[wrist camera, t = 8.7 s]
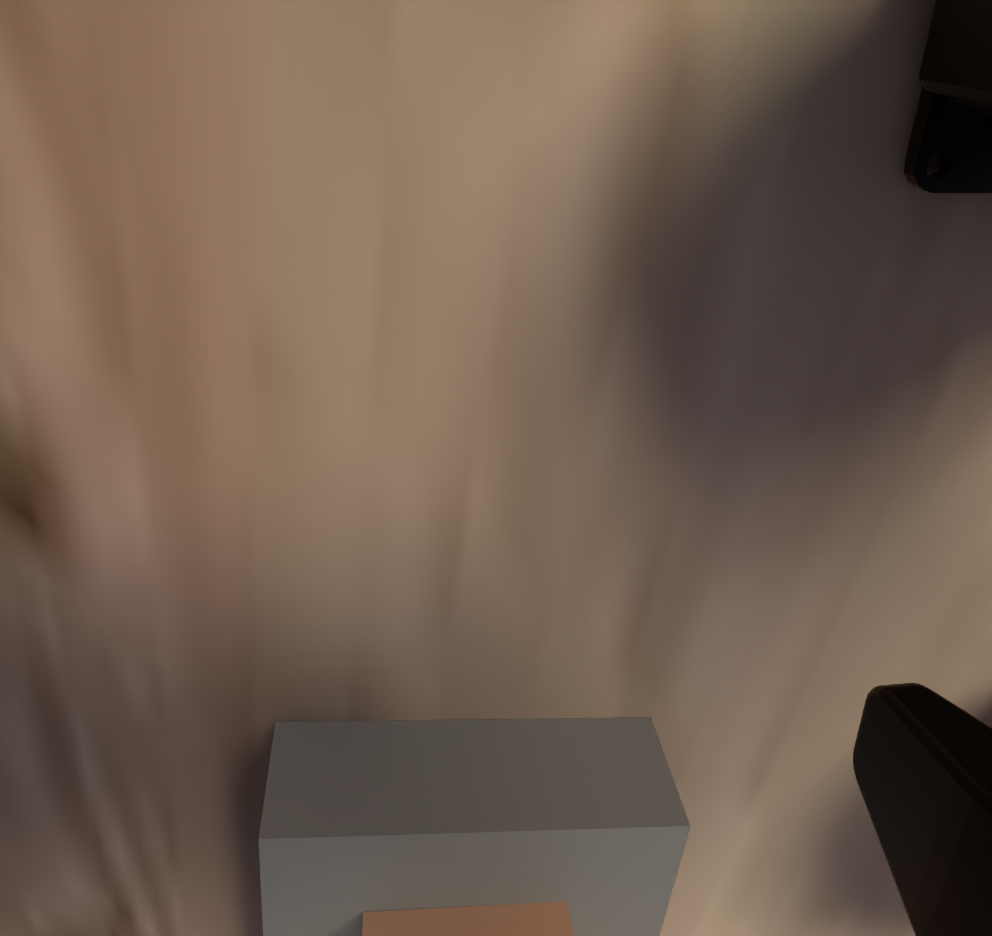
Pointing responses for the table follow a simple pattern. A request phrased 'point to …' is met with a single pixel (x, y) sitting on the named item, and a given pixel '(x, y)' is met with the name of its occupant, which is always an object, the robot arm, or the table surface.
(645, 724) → the slate block
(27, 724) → the table surface
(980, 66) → the robot arm
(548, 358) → the table surface
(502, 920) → the terracotta cube
